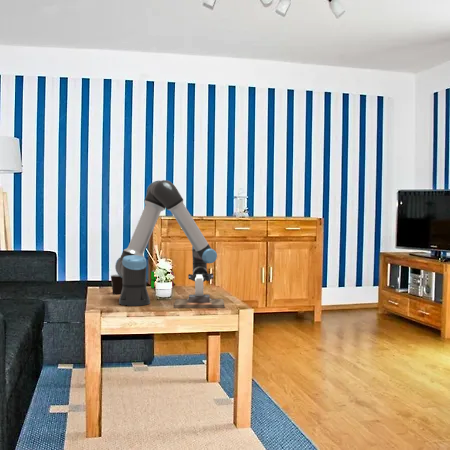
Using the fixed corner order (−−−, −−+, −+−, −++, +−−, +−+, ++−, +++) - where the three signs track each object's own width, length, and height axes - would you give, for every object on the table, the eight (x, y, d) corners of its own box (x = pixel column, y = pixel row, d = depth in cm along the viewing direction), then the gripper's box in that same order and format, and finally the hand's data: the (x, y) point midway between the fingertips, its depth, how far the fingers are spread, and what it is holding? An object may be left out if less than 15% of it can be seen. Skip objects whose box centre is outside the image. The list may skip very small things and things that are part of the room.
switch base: (173, 308, 299) (173, 298, 299) (175, 302, 317) (175, 293, 317) (224, 308, 300) (224, 298, 300) (223, 302, 318) (223, 293, 318)
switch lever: (195, 296, 307) (194, 278, 298) (195, 292, 309) (195, 274, 300) (203, 296, 307) (203, 278, 298) (203, 292, 309) (203, 274, 300)
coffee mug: (123, 294, 340) (123, 276, 340) (108, 294, 342) (108, 276, 342) (130, 291, 352) (130, 274, 351) (116, 291, 353) (116, 273, 353)
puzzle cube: (173, 288, 366) (173, 271, 365) (157, 290, 361) (157, 272, 360) (166, 286, 374) (166, 270, 374) (150, 287, 369) (150, 270, 369)
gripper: (213, 281, 328) (215, 287, 305) (188, 282, 327) (188, 288, 304) (212, 266, 328) (215, 272, 304) (187, 267, 327) (188, 273, 303)
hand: (201, 280), depth 304 cm, fingers closed
